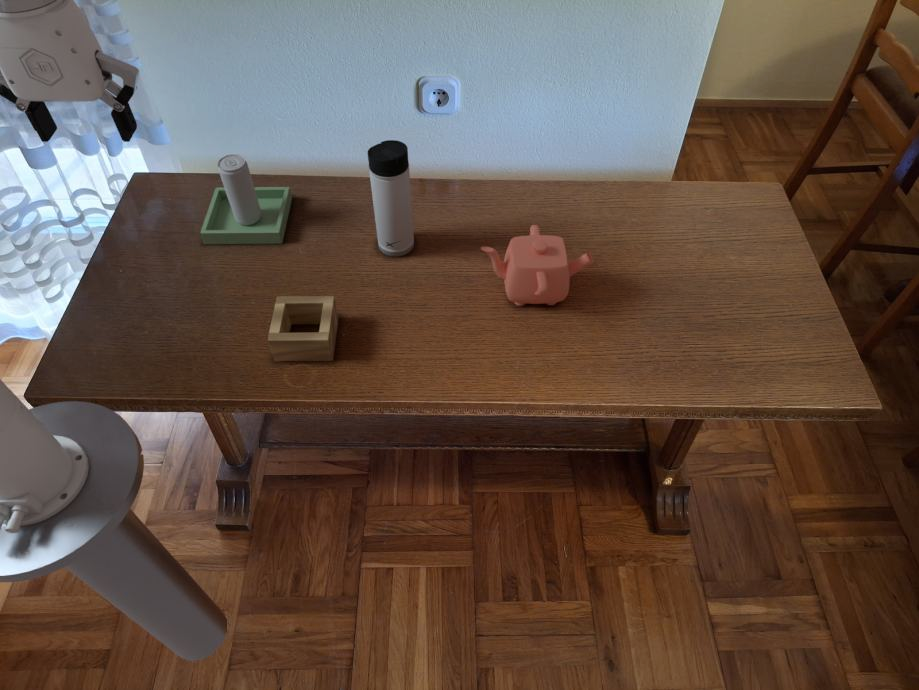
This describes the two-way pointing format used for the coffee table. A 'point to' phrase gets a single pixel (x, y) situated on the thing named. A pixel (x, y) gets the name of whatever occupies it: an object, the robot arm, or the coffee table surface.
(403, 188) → the travel mug
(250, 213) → the beverage can
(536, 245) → the teapot
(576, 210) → the coffee table surface
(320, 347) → the holder
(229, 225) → the tray
